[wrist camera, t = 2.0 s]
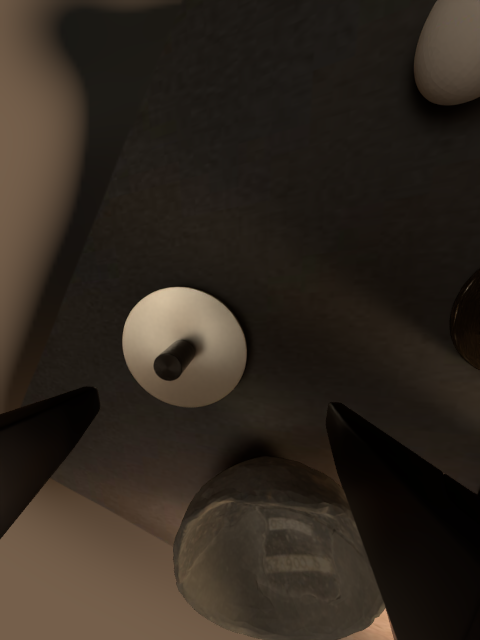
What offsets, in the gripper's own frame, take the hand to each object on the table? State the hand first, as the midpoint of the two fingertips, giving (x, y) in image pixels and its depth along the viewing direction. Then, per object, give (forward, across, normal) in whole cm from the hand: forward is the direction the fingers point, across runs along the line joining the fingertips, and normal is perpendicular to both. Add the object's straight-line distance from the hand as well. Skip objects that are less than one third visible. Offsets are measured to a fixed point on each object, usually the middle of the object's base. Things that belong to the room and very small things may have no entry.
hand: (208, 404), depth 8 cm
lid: (+12, +5, +3) cm, 14 cm away
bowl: (+13, -4, +20) cm, 24 cm away
